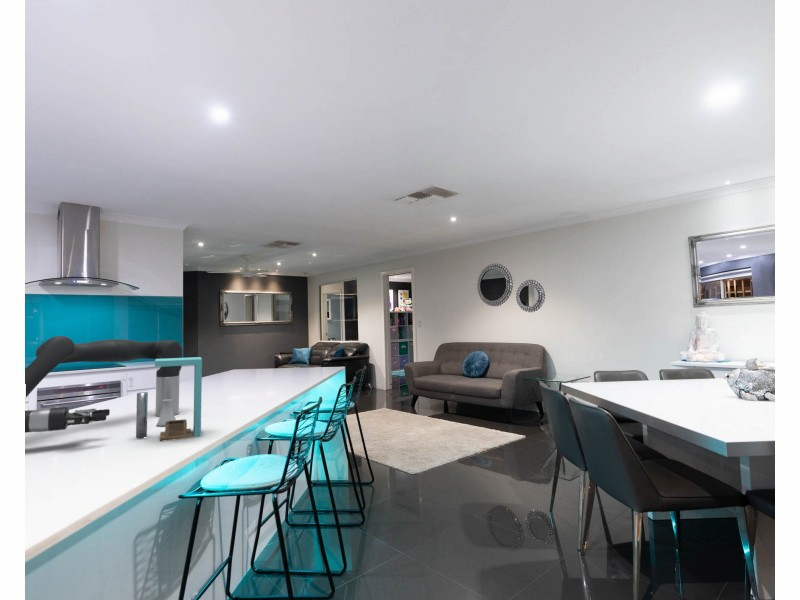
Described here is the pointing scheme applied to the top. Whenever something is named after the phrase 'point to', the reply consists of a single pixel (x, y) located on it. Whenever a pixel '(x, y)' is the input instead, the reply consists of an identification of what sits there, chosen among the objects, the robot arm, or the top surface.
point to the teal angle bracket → (197, 384)
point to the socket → (175, 430)
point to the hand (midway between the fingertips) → (107, 414)
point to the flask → (166, 413)
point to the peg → (141, 415)
